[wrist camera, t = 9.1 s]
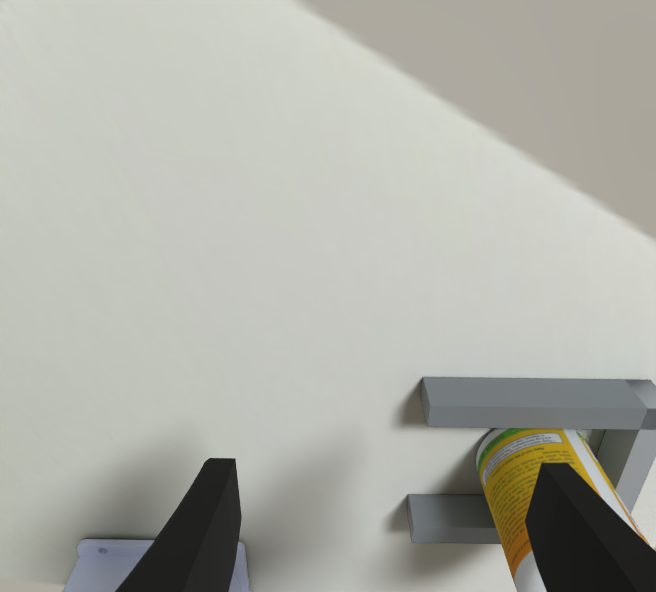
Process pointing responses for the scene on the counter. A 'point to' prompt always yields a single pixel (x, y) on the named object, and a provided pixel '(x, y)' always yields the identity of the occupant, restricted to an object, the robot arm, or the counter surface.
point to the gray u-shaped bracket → (535, 412)
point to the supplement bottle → (518, 485)
